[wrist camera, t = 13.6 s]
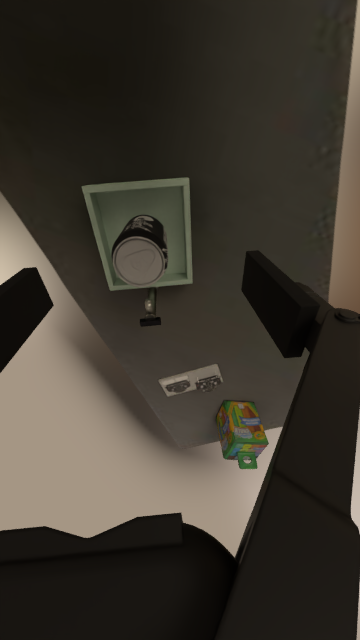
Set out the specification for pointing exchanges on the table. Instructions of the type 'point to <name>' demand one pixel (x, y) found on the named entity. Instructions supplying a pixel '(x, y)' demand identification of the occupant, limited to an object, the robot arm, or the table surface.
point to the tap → (151, 309)
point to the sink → (143, 199)
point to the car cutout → (192, 380)
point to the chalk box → (241, 432)
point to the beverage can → (141, 251)
